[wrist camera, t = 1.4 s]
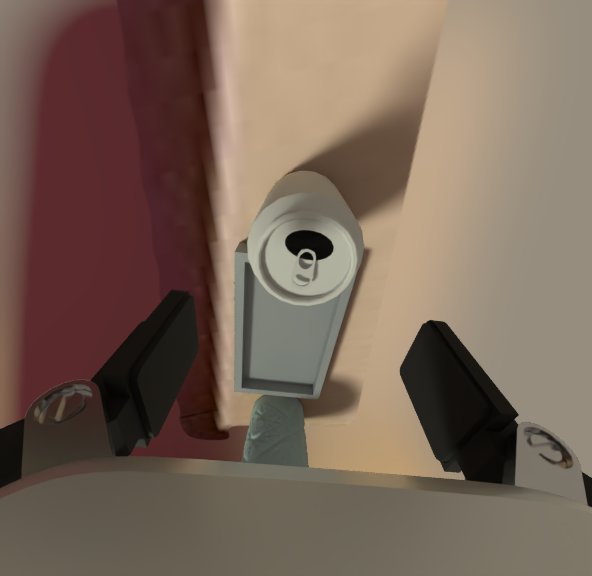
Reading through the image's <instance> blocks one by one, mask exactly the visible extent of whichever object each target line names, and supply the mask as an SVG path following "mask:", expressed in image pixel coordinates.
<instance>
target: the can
mask: <svg viewBox="0 0 592 576" xmlns="http://www.w3.org/2000/svg"><path fill="white" fill-rule="evenodd" d="M247 247H248V259H249V262H250V264H251V267H252V269H253V272H254V274H255V275H256V276H257V278H258V279H259V282H260V283H261V284H262V285H263V286H264V288H265V289H266V290H267V291H268V292H269V293H270V294H272V295H273V296H275V297H276V298H278V299H279V300H281V301H284V302H287V303H290V304H293V305H304V306H311V305H316V304H321V303H325V302H327V301H329V300H331V299H333V298H335V297H337V296H338V295H339V294H340V293H341V292H343V291H344V290H345V289H346V288H347V287H348V286H349V284H350V282H351V281H352V279H353V277H354V276H355V274H356V272H357V270H358V269H359V267H360V265H361V261H362V256H363V252H364V243H363V235H362V230H361V228H360V226H359V224H358V222H357V220H356V218H355V217H354V215H353V213H352V211H351V210H350V208H349V207H348V205H347V204H346V202H345V200H344V199H343V197H342V196H341V194H340V193H339V191H338V189H337V188H336V186H335V185H334V184H333V183H332V182H331V181H330V180H329V179H328V178H327V177H325V176H323V175H321V174H319V173H316V172H314V171H301V170H300V171H297V172H293V173H290V174H287V175H286V176H284V177H283V178H281V179H280V180H278V181H277V182H276V183H275V185H274V186H273V188H272V189H271V190H270V192H269V194H268V195H267V197H266V199H265V201H264V203H263V205H262V207H261V209H260V211H259V213H258V215H257V216H256V218H255V220H254V222H253V224H252V227H251V230H250V234H249V237H248V240H247Z"/></svg>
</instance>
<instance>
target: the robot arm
mask: <svg viewBox="0 0 592 576" xmlns="http://www.w3.org/2000/svg"><path fill="white" fill-rule="evenodd" d="M197 352H198V336H197V326H196V315H195V305H194V297H193V296H190V295H189V292H187V291H180V290H171V291H170V292H169V293H168V295H167V296H166V297H165V298H164V299H163V300H162V302H161V303H160V304H159V305H158V306H157V308H156V309H155V310H154V311H153V312H152V314H151V315H150V316H149V317H148V318H147V319H146V321H143V322H141V323H140V324H139V325H138V326H137V327H136V328H135V330H134V331H133V332H132V333H131V334H130V335H129V336H128V338H127V339H126V340H125V341H124V342H123V343H122V345H121V346H120V347H119V348H118V349H117V350H116V352H115V353H114V354H113V355H112V356H111V357H110V359H109V360H108V361H107V362H106V363H105V364H104V365H103V367H102V368H101V369H100V370H99V371H98V372H97V374H96V375H95V376H94V377H93V378H92V379H91V380H90V381H89V380H74V381H69V382H66V383H63V384H60V385H58V386H56V387H54V388H51V389H50V390H48V391H47V392H46V393H44V394H42V395H41V396H40V397H39V398H38V399H36V400H35V401H34V402H33V403H32V405H31V406H30V408H29V409H28V411H27V413H26V416H25V418H24V419H22V420H20V421H17V422H15V423H13V424H11V425H8V426H6V427H4V428H2V429H0V576H592V478H591V477H589V476H588V475H586V474H585V473H583V472H582V471H581V466H580V463H579V461H578V458H577V457H576V455H575V454H574V452H573V451H572V450H571V449H570V448H569V447H568V446H567V445H566V444H565V442H564V441H562V440H561V439H560V438H559V437H558V436H556V435H555V434H554V433H552V432H550V431H549V430H547V429H546V428H544V427H542V426H540V425H538V424H534V423H531V422H522V423H520V424H519V425H518V424H517V423H516V421H515V420H514V419H515V418H516V417H517V416H518V415H519V414H518V413H517V412H516V410H515V409H514V408H513V407H512V405H511V404H510V403H509V402H508V400H507V399H506V398H505V397H504V395H503V394H502V393H501V392H500V390H498V388H497V387H496V385H495V384H494V383H493V382H492V380H491V379H490V378H489V376H488V375H487V374H486V373H485V372H484V370H483V369H482V368H481V366H480V365H479V364H478V363H477V361H476V360H475V359H474V358H473V356H472V355H471V354H470V352H469V351H468V350H467V349H466V347H465V346H464V345H463V344H462V343H461V341H460V340H459V339H458V338H457V336H456V335H455V334H454V332H453V331H452V330H451V329H450V327H449V326H448V325H447V324H446V323H445V322H441V321H433V320H429V321H427V322H426V323H424V324H423V325H422V326H421V328H420V330H419V332H418V334H417V336H416V338H415V340H414V342H413V344H412V346H411V348H410V350H409V351H408V353H407V355H406V357H405V359H404V361H403V363H402V365H401V367H400V375H401V378H402V380H403V383H404V385H405V387H406V390H407V392H408V394H409V397H410V399H411V401H412V404H413V406H414V409H415V411H416V413H417V416H418V418H419V420H420V423H421V425H422V427H423V430H424V432H425V435H426V437H427V439H428V441H429V444H430V446H431V449H432V451H433V453H434V455H435V457H436V459H438V460H439V461H440V462H441V464H442V467H443V469H444V471H445V472H457V473H459V472H461V471H462V472H463V474H464V476H465V480H455V479H444V478H432V477H420V476H408V475H396V474H384V473H372V472H359V471H347V470H334V469H322V468H309V467H296V466H283V465H270V464H256V463H242V462H229V461H215V460H201V459H183V458H164V457H127V456H128V455H130V454H131V452H132V451H133V449H134V447H135V446H136V447H147V446H148V444H149V442H150V440H151V438H152V437H156V436H157V435H158V434H159V432H160V430H161V428H162V426H163V424H164V422H165V420H166V418H167V416H168V414H169V412H170V409H171V407H172V405H173V403H174V401H175V399H176V397H177V395H178V393H179V391H180V388H181V386H182V384H183V382H184V380H185V378H186V376H187V374H188V372H189V370H190V367H191V365H192V363H193V361H194V359H195V357H196V355H197Z"/></svg>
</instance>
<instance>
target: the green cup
mask: <svg viewBox="0 0 592 576" xmlns="http://www.w3.org/2000/svg"><path fill="white" fill-rule="evenodd" d="M304 425H305V422H304V413H303V407H302V404H301V402H300V401H299V400H298V399H296V398H295V397H285V396H274V395H264V396H262V397H260V398H259V399H258V400H257V401H256V402H255V404H254V407H253V411H252V415H251V421H250V425H249V430H248V433H247V439H246V442H245V448H244V457H243V459H242V461H241V462H242V463H256V464H270V465H283V466H296V467H309V466H308V456H307V455H308V454H307V446H306V436H305V430H304Z"/></svg>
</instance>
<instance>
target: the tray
mask: <svg viewBox="0 0 592 576" xmlns="http://www.w3.org/2000/svg"><path fill="white" fill-rule="evenodd" d="M357 271H358V270H357ZM356 274H357V272H356ZM356 274H355V276H354V277H353V279H352V281H351V282H350V284H349V286H348V287H347V288H346V289H345V290H344V291H343V292H341V293H340V294H339V295H338V296H337V297H335V298H333V299H331V300H329V301H327V302H325V303H321V304H316V305H311V306H304V305H293V304H290V303H287V302H284V301H281V300H279V299H278V298H276V297H275V296H273V295H272V294H270V293H269V292H268V291H267V290H266V289H265V288H264V286H263V285H262V284H261V283H260V282H259V279H258V278H257V276H256V275H255V274H254V272H253V269H252V267H251V264H250V262H249V259H248V247H247V243H243V242H240V243H239V245H238V247H237V249H236V250H235V387H234V392H243V393H254V394H264V395H274V396H285V397H295V398H306V399H316V400H318V399H319V396H320V392H321V389H322V386H323V383H324V379H325V376H326V373H327V369H328V366H329V363H330V360H331V356H332V353H333V350H334V347H335V343H336V340H337V337H338V333H339V330H340V327H341V324H342V320H343V317H344V314H345V311H346V307H347V304H348V301H349V297H350V294H351V291H352V288H353V284H354V281H355V278H356Z"/></svg>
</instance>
